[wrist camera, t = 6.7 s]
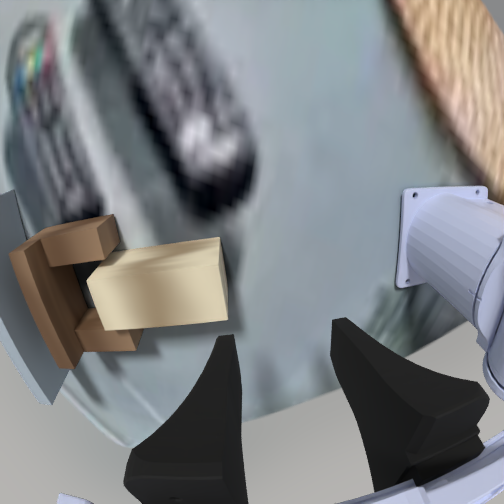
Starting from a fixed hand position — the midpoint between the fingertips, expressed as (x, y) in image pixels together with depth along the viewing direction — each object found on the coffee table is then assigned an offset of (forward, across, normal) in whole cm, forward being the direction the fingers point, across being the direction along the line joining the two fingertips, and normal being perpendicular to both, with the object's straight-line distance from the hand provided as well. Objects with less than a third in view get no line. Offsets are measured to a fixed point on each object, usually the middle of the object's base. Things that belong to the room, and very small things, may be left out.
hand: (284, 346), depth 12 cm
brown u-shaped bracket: (+9, +12, 0) cm, 16 cm away
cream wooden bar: (+10, +7, 0) cm, 12 cm away
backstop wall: (+9, +19, 0) cm, 21 cm away
